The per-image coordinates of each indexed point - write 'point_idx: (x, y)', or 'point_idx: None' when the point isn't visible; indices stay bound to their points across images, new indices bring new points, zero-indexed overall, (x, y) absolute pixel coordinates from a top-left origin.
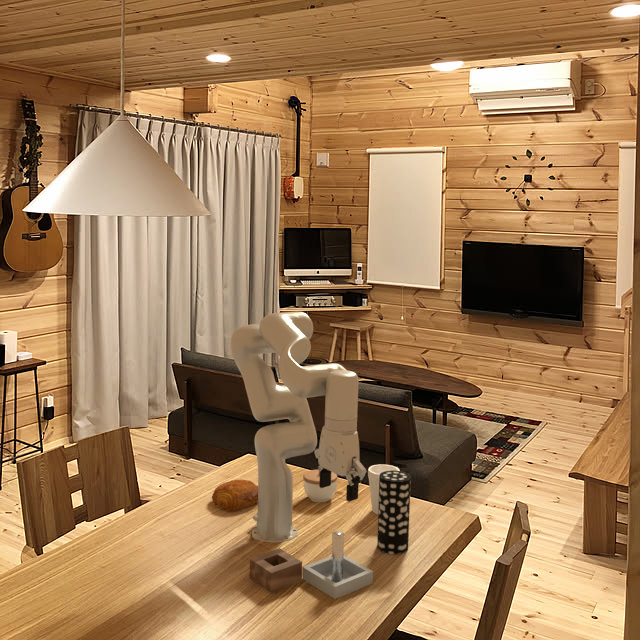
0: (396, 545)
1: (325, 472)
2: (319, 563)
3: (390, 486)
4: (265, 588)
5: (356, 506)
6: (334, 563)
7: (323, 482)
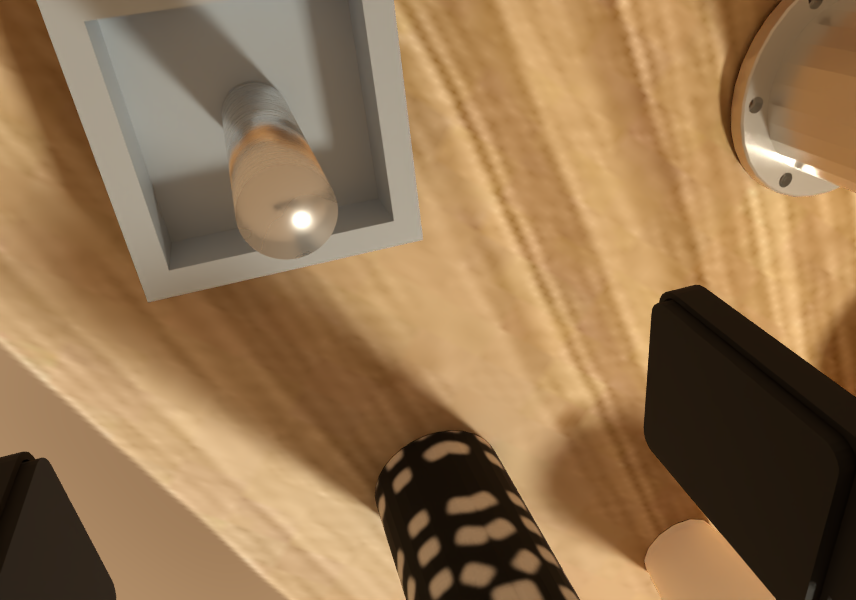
0: (390, 500)
1: (821, 523)
2: (372, 68)
3: None
4: None
5: None
6: (244, 111)
7: (700, 371)
